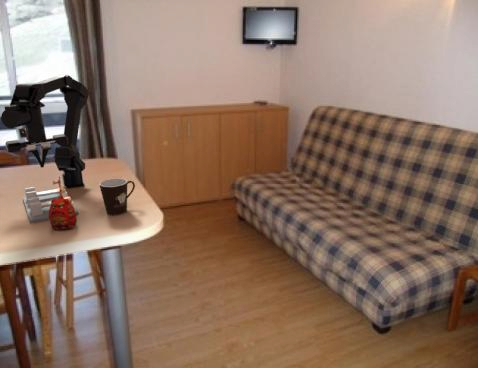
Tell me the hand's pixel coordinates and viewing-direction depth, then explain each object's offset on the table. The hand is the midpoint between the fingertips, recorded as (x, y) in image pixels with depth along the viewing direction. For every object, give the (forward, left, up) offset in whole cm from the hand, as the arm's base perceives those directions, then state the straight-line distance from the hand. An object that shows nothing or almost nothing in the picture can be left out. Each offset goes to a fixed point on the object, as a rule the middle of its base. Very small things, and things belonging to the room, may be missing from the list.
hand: (42, 167), depth 140 cm
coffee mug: (-19, +25, -12) cm, 34 cm away
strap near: (0, +14, -9) cm, 17 cm away
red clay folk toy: (-1, +28, -12) cm, 31 cm away
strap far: (0, +2, -9) cm, 10 cm away
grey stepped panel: (+1, +8, -12) cm, 14 cm away
